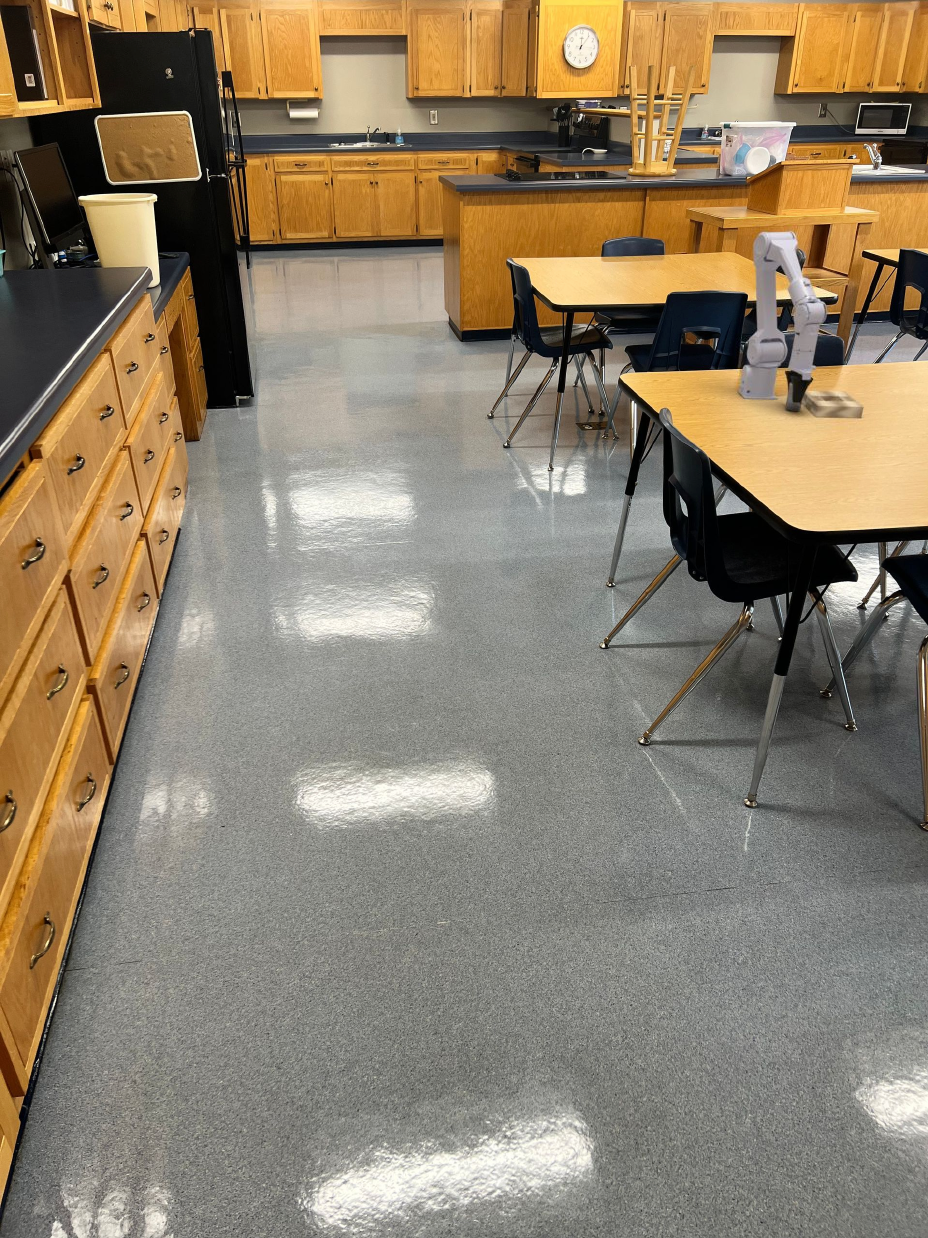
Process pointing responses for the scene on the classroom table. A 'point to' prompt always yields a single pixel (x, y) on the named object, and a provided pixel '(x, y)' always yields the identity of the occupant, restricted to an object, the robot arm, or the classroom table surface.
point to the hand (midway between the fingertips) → (794, 399)
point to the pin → (789, 403)
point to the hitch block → (832, 404)
